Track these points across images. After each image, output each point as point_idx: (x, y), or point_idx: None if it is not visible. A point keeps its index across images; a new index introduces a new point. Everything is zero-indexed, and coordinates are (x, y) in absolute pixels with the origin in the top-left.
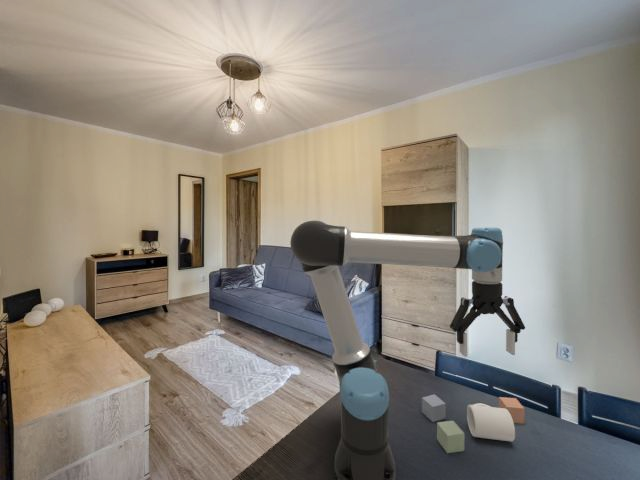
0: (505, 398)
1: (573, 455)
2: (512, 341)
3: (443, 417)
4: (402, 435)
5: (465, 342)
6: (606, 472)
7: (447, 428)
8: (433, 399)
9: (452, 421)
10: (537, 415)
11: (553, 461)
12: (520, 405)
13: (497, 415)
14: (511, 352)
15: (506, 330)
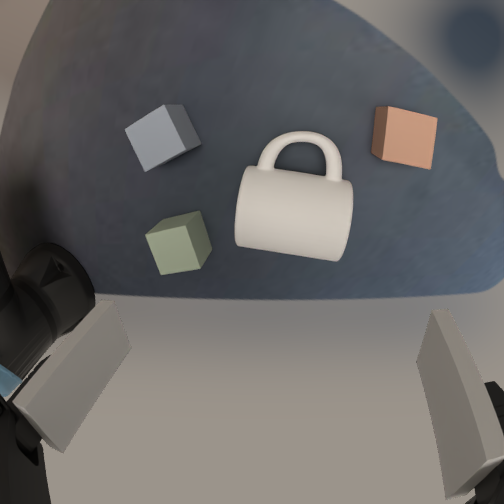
0: (404, 116)
1: (439, 257)
2: (436, 438)
3: (194, 147)
4: (99, 213)
5: (84, 406)
6: (455, 291)
7: (164, 254)
8: (154, 134)
9: (182, 229)
10: (466, 132)
11: (388, 272)
12: (428, 154)
13: (303, 247)
14: (421, 364)
15: (483, 450)
